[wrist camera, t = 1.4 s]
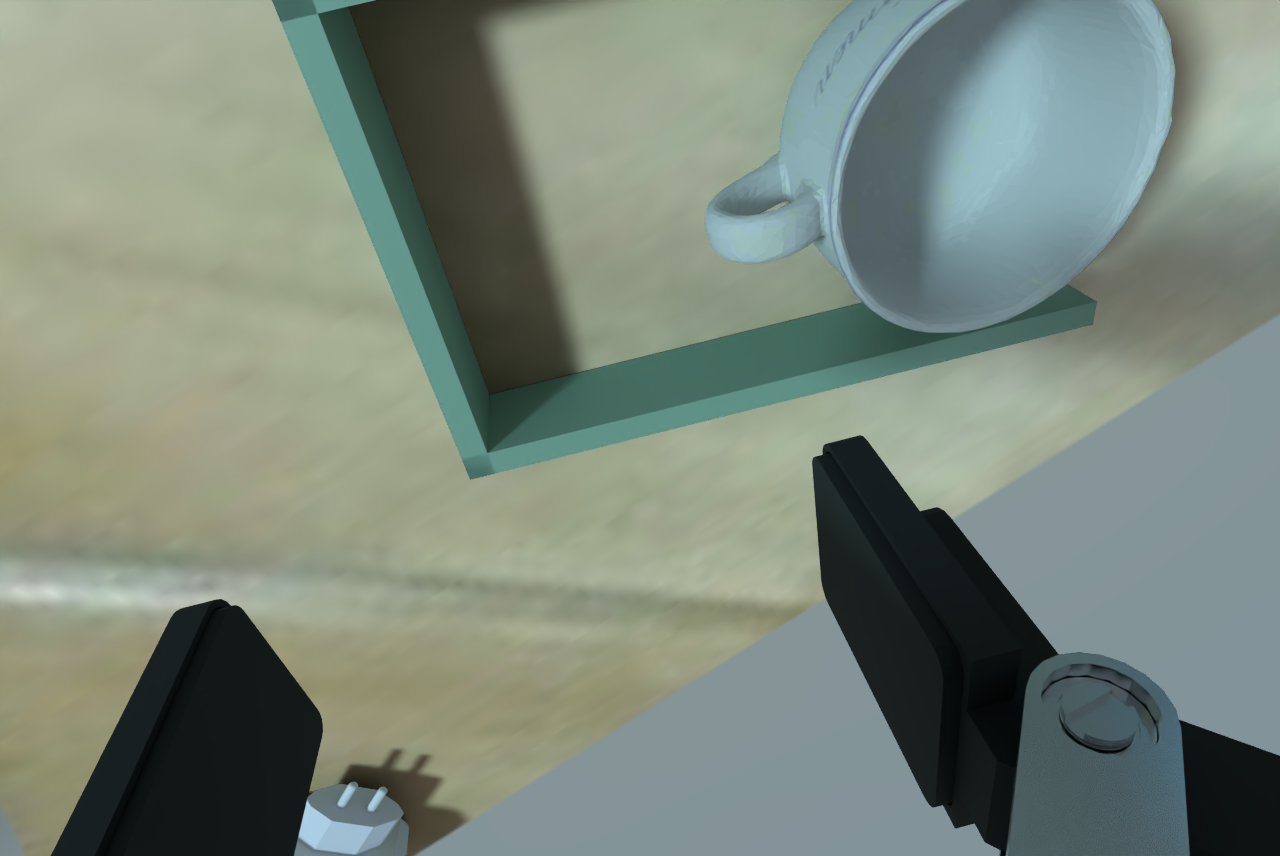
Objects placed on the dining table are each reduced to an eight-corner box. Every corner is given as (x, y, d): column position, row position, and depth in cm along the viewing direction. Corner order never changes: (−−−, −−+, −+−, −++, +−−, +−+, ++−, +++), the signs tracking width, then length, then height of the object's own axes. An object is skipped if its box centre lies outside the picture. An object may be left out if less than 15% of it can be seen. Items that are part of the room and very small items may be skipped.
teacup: (1052, -56, 26) (1244, -61, 19) (991, 243, 32) (1121, 319, 25) (663, -23, 24) (723, -15, 18) (676, 282, 30) (725, 374, 24)
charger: (448, 761, 45) (363, 884, 51) (295, 732, 42) (223, 868, 48) (443, 838, 41) (351, 961, 47) (274, 813, 38) (198, 950, 44)
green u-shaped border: (302, -25, 23) (263, -21, 19) (1082, -206, 23) (1192, -236, 20) (474, 419, 32) (470, 479, 28) (1025, 282, 33) (1092, 324, 29)
